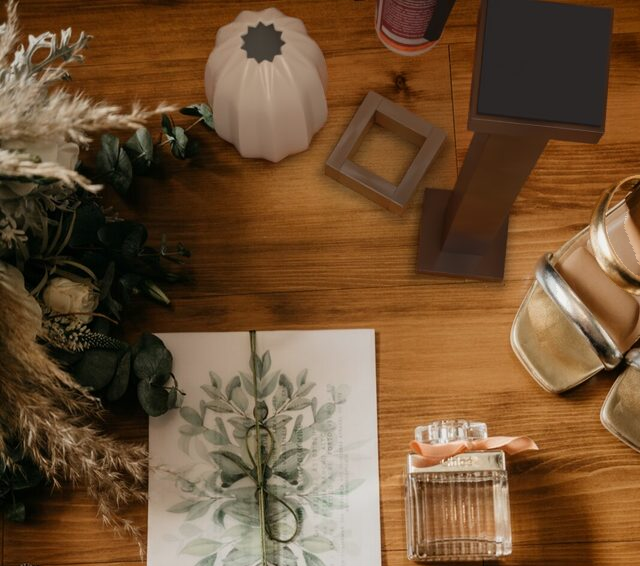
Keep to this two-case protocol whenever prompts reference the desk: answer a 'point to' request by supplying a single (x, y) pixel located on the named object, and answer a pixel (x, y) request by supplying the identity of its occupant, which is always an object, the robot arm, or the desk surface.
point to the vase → (266, 85)
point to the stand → (400, 124)
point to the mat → (544, 62)
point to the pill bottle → (404, 25)
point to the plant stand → (489, 182)
